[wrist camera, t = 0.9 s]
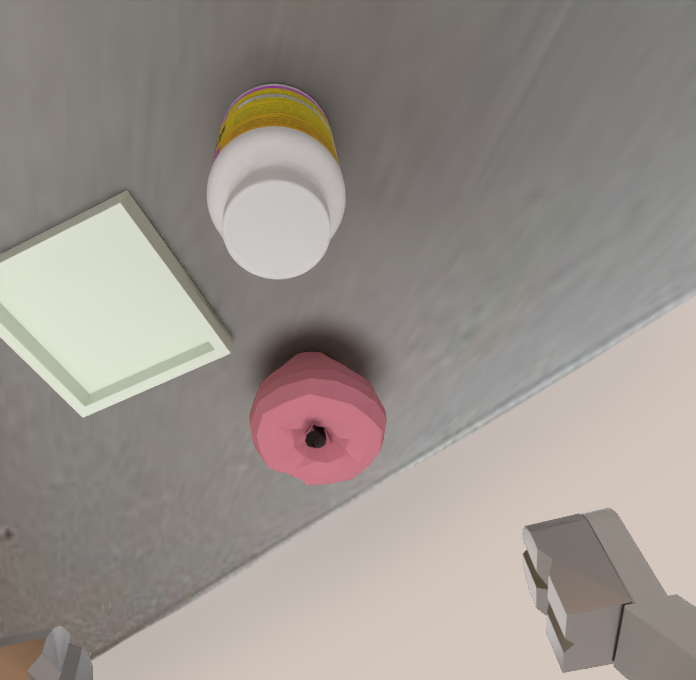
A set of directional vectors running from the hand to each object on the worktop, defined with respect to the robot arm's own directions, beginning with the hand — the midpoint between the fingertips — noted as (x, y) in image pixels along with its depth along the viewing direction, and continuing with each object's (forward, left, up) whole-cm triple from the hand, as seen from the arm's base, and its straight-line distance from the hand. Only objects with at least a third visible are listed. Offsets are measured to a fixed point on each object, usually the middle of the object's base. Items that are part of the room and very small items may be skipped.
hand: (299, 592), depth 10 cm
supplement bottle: (+1, +1, -31) cm, 31 cm away
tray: (+17, +6, -30) cm, 35 cm away
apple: (+7, +18, -31) cm, 36 cm away
